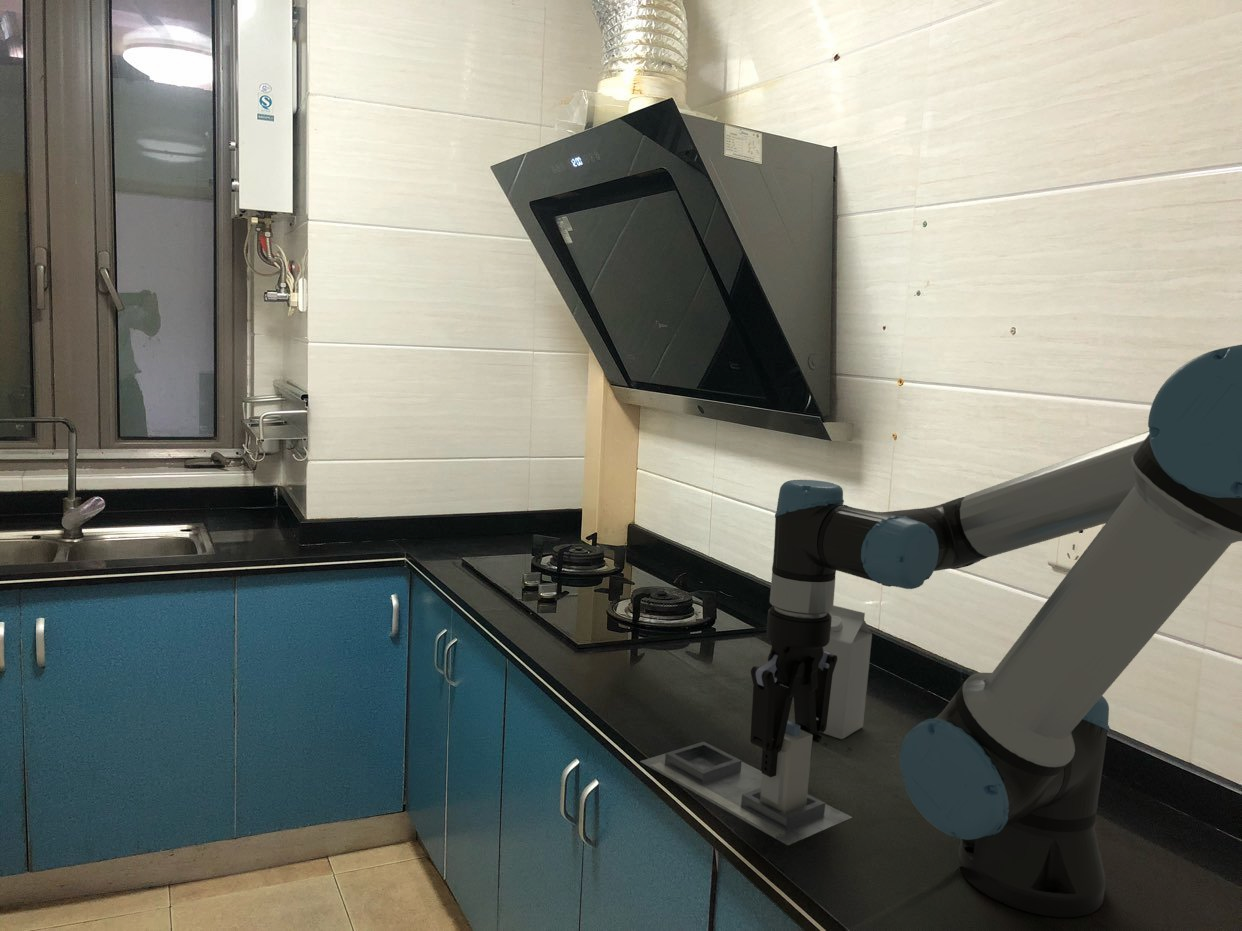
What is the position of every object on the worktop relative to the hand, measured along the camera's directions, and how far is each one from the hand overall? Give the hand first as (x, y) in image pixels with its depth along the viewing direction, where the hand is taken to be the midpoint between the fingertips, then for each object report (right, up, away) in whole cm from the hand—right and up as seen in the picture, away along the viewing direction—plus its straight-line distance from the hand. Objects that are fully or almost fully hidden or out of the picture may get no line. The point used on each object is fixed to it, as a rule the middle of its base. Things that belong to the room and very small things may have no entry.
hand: (784, 793), depth 118 cm
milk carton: (+12, 0, +30) cm, 33 cm away
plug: (0, -2, 0) cm, 2 cm away
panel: (-5, -2, +6) cm, 8 cm away
